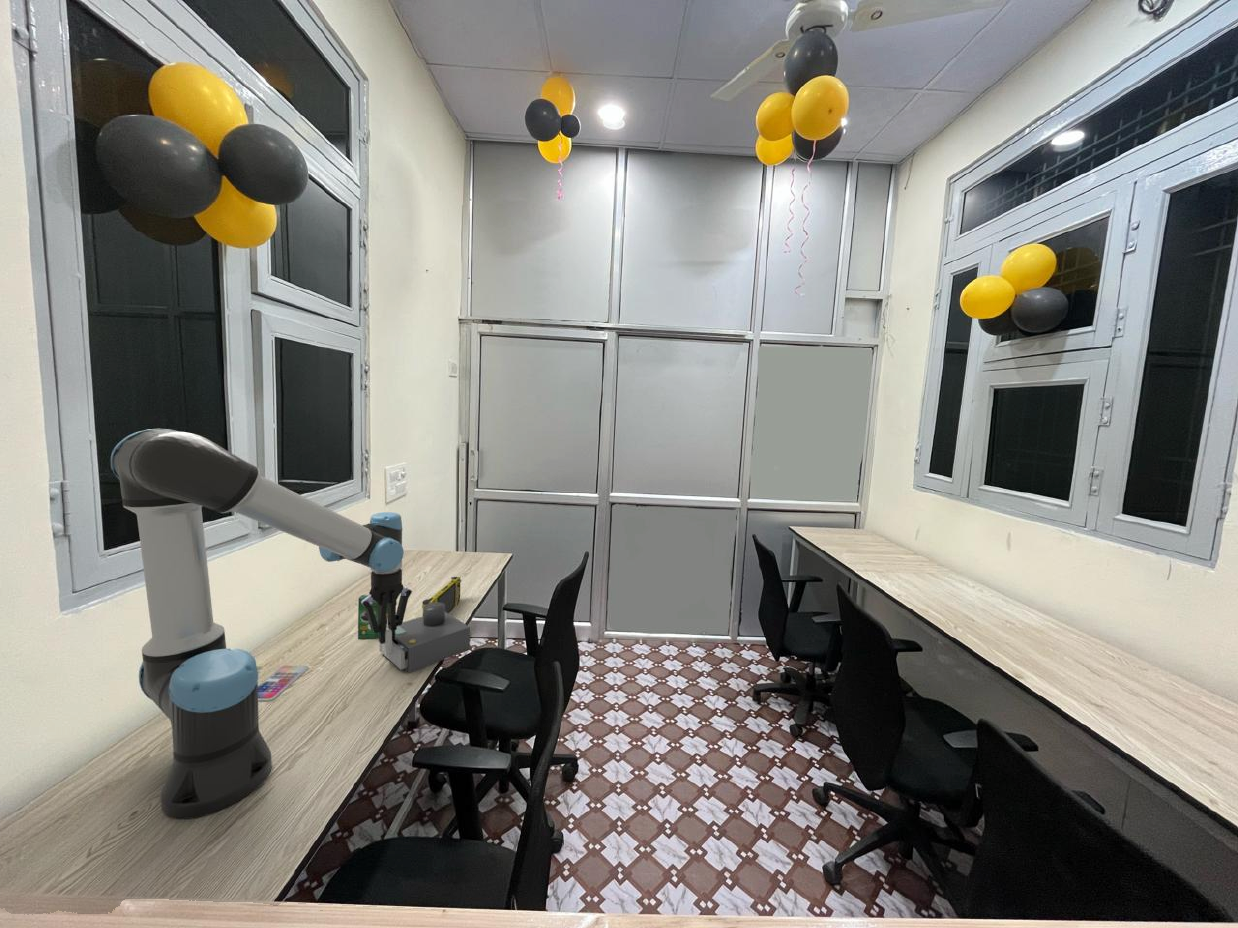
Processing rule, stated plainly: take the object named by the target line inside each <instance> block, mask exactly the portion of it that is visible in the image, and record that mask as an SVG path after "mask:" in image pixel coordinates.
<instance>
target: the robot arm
mask: <svg viewBox="0 0 1238 928" xmlns="http://www.w3.org/2000/svg"><path fill="white" fill-rule="evenodd" d="M110 468H111V471H112V472H113V474H114V475H115V477H116V478H117V479H118V481H119V485H120V494H121V500H122V507H123V508H125V509H126V510H128V511H130V512H132V513H134V514H135V515H136V518H137V527H138V533H139V540H140V541H139V543H140V551H141V557H142V565H143V573H144V583H145V590H146V597H147V599H146V600H147V606H148V614H149V622H150V623H149V624H150V629H151V638H150V639H149V640H147V642H146V643H144V644H143V646H142V648H141V656H142V663H141V665H140V668H139V671H138V682H139V686H140V688H141V689H140V690H141V691H142V693H143V694H144V696H146V697H147V698H148V699H149V700H151V701H152V702H153V703H154V704H155V706H157V707H158V708H159V710H161V712H162V713H163V714H164V715H165V716H166V717H167V718H168V719H169V721H170V723H171V724H170V725H171V732H172V733H171V734H172V751H173V758H172V763H171V764H170V765H171V766H170V767H169V770H168V774H167V776H166V778H165V781H164V784H163V786H162V789H161V794H160V804H161V805H160V806H161V811H162V812H163V814H164V815H166V816H167V817H169V818H174V819H192V818H198V817H203V816H206V815H210V814H213V813H216V812H218V811H220V810H223V809H226V808H227V807H230V806H232V805H233V804H235V803H238V802H239V801H241V800H242V799H244V798H245V797H247V796H249V794H251V793H252V792H254V791H255V790H256V789H258V787H260V785H262V784H263V783H264V782H265V780H266V779H267V777H268V776H269V774H270V772H271V769H272V753H271V749H270V748H269V746H268V744H267V742H266V741H265V739H264V736H263V735H262V734H261V732H260V728H259V726H260V725H259V723H260V722H259V702H258V685H259V684H258V683H259V681H258V680H259V676H260V675H259V671H258V670H259V668H258V666H257V661H256V659H255V656H254V655H253V654H252V653H250V652H248V651H246V650H244V649H240V648H235V649H233V650H231V648H227V641H226V633H225V627H224V626H223V625H221V624H218V623H216V622H214V615H213V606H212V597H211V588H210V587H211V586H210V578H209V577H210V576H209V567H208V560H207V559H208V558H207V549H206V540H205V530H204V521H203V511H202V509H203V507H205V508H207V509H210V510H213V511H216V512H218V513H220V514H227V513H231V512H234V513H236V514H238V515H241V516H244V517H246V518H248V519H250V520H254V521H256V522H258V523H261V524H264V525H266V526H268V527H270V528H273V529H275V530H278V531H280V532H282V533H285V534H287V535H290V536H293V537H295V538H298V539H300V540H302V541H305V542H307V543H309V544H312V545H314V546H317V547H318V550H319V551H318V552H319V554H320V556H321V558H322V559H323V560H324V561H325V562H329V563H331V562H336V561H337V562H340V561H343V560H347V561H350V562H353V563H356V564H360V565H362V566H364V567H367V568H370V570H371V572H370V587H371V588H370V590H369V593H368V595H369V596H367V597H366V598H365V599H361V600H360V603H361V604H362V605H363V606H364V608H365V611H366V614H367V618H368V621H369V624H370V627H371V630H373V631H374V632H375V633H377V632H379V638H378V642H379V644H380V643H381V644H382V652H383V653H384V654H385V655H389V654H392V640H394V639H395V630H396V629H397V626H400V625H402V623H403V622H404V617H405V614H406V610H407V606H408V601H409V599H410V596H411V595H412V593H413V590H411V589H410V588H408V587H404V585H403V583H402V581H403V569H402V566H403V559H404V548H403V521H402V515H400V514H399V513H397V512H389V511H387V512H377V513H375V514H374V513H373V514H372V515H371V516H370V519H369V523H366V524H359V523H358V522H356V521H354V520H352V519H350V518H348V517H345V516H343V515H341V514H340V513H338V512H335V511H334V510H331V509H330V508H327V507H325V506H323V505H321V504H319V503H317V502H316V501H313V500H312V499H311V500H310V499H309V498H307V497H306V496H302V495H301V494H299V493H297V492H295V491H293V490H290V489H289V488H287V487H285V486H282V485H281V484H278V483H277V482H274V481H272V480H270V479H268V478H267V477H264V476H262V475H261V470H260V468H259V467H257V466H255V465H254V464H251V463H249V462H247V461H245V460H244V459H242V458H240V457H239V456H237V455H235V454H234V453H232V452H230V451H229V450H227V449H225V448H223V447H222V446H221V445H219V444H218V443H215V442H213V441H212V440H210V439H208V438H206V437H204V436H202V435H200V434H196V433H191V432H185V431H178V430H176V429H171V428H168V429H167V428H153V429H150V428H149V429H145V430H140V431H137V432H134V433H131V434H129V435H127V436H126V437H124V438H123V439H122V440H121V441H119V442H118V443H117V444H116V445H115V446H114V448H113V449H112V451H111V456H110ZM399 596H400V597H399ZM398 598H399V601H398V604H397V600H398ZM372 599H374V600H375V601H376V602H377V606H378V624H377V621H376V617H375V614H374V611H373V608H372V606H371V605H372ZM387 604H388V619H387V627H388V628H386V608H387ZM396 607H397V608H396ZM382 652H381V653H382ZM383 653H382V654H383ZM384 654H383V655H384ZM385 655H384V656H385Z"/></svg>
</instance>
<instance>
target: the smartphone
mask: <svg viewBox="0 0 1238 928" xmlns="http://www.w3.org/2000/svg"><path fill="white" fill-rule="evenodd" d="M308 670H310V667H309V666H308V665H282V666H280V667H279V668H278V669H277V670H276V671H274V672H273V673H271V674H270V675H269V676H268V677H267V678H266V679H264V680H263V681H261V682H260V683H259V684H258V703H262V702H268V703H270V702H272V701H274V700H276V699H277V698H278V697H280V695H282V694H283V693H284V692H285V691H286V690H288V689H289V687H290V686H291V685H292V684H294V683H295V682H296V681H297V680H298V679H299V678H301V676H302V675H304V674H305V673H306V672H307V671H308Z"/></svg>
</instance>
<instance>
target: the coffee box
mask: <svg viewBox="0 0 1238 928" xmlns="http://www.w3.org/2000/svg"><path fill="white" fill-rule="evenodd" d="M367 596H369V594H365V595H364V594H362V595H360V596H359V597H358V601H357V602H358V605H357V607H358V608H357V609H358V612H357V613H358V614H357V639H358V640H359V639H361V640H365V639H379V632H377V633H375V632H374V631H373V630H371V627H370V624H369V621H368V618H367V614H366V611H365V608H364V606H363V605H362V604H361V603H360V600H361V599H365V598H366V597H367ZM371 606H372V608H373V611H374V614H375V617H376V621H377V624H378V606H377V602H376V601H375V600H374V599H372V605H371ZM386 627H388V604H387V608H386Z"/></svg>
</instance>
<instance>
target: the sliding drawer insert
mask: <svg viewBox="0 0 1238 928" xmlns="http://www.w3.org/2000/svg"><path fill="white" fill-rule="evenodd" d="M379 652H380V653H381V654H383V655H384V656H385V657H386V658H387V659H388V660H389V661H390V662H392V664H393V665H395V666H396V667H397V668H398V669H400V671H401V670H405V668H407V667H408V656H405V651H403V650H402V649H401V648H400V647H399V646H397V645H396V644H395V643H394V642H393V640H392V654H389V655H385V654H384V653H383V652H382V644H381V643H380V642H379Z"/></svg>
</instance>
